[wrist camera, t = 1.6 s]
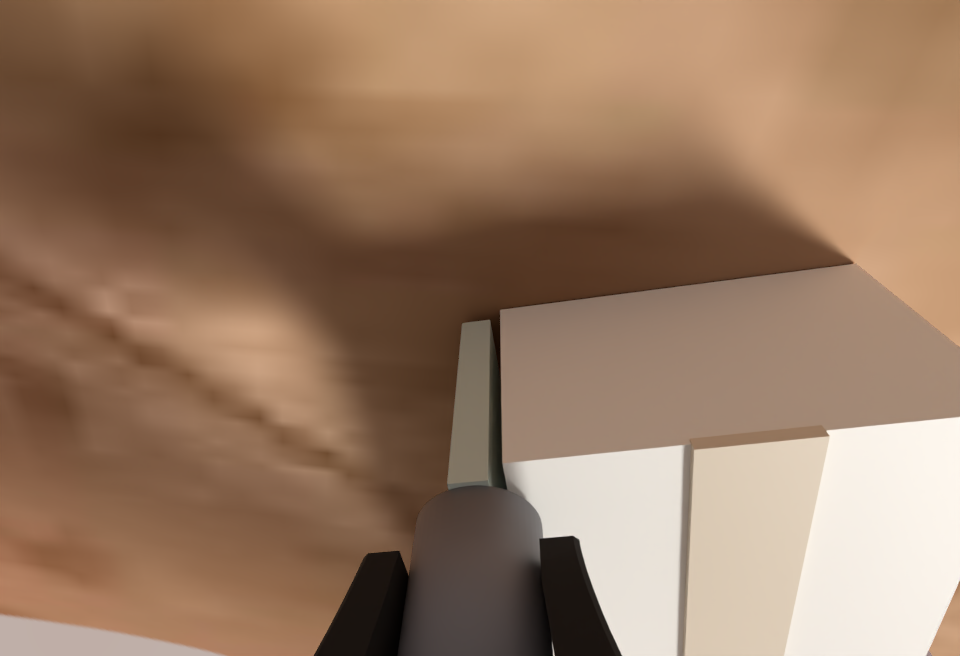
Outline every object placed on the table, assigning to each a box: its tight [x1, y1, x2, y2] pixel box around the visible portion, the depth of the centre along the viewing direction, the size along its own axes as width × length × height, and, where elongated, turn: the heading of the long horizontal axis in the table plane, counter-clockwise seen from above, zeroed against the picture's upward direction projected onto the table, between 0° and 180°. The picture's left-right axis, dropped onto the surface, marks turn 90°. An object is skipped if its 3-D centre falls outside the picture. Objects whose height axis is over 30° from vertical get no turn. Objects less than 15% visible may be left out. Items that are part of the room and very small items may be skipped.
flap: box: [397, 320, 553, 656], centre depth 16 cm, size 14×3×10 cm, turn 9°
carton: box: [500, 264, 960, 656], centre depth 17 cm, size 14×10×6 cm
